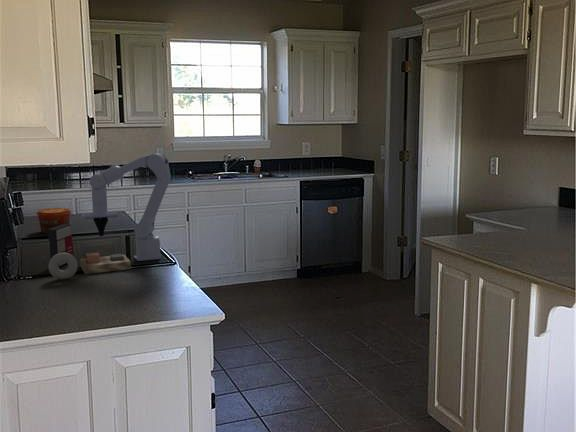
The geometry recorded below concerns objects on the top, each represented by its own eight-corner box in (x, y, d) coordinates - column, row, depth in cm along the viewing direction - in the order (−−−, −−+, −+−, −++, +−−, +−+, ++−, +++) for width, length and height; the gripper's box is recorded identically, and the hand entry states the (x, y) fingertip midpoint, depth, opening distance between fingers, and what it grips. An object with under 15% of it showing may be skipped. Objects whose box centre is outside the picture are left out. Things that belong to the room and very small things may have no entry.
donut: (78, 276, 224) (76, 250, 222) (78, 279, 221) (77, 252, 219) (49, 279, 220) (47, 252, 218) (49, 281, 217) (47, 254, 215)
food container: (40, 229, 307) (39, 208, 305) (73, 228, 311) (72, 207, 309) (35, 235, 292) (33, 213, 290) (70, 234, 296) (69, 212, 294)
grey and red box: (59, 267, 236) (57, 229, 233) (49, 267, 237) (47, 229, 234) (74, 260, 247) (72, 224, 244) (65, 260, 247) (62, 224, 245)
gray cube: (121, 263, 241) (121, 253, 241) (124, 266, 238) (123, 256, 237) (110, 264, 239) (110, 254, 239) (112, 267, 236) (112, 257, 235)
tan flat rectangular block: (124, 261, 246) (124, 254, 245) (130, 268, 235) (130, 261, 235) (80, 266, 238) (80, 258, 238) (85, 273, 228) (84, 266, 227)
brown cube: (98, 262, 237) (97, 252, 236) (100, 264, 233) (99, 254, 233) (86, 263, 235) (86, 253, 235) (88, 266, 231) (87, 255, 231)
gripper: (82, 205, 240) (84, 239, 243) (119, 203, 247) (121, 236, 249) (80, 203, 247) (81, 235, 249) (116, 200, 253) (117, 232, 256)
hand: (101, 235), depth 250 cm, fingers closed
